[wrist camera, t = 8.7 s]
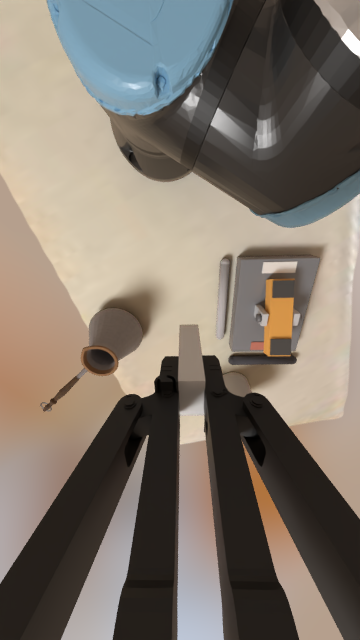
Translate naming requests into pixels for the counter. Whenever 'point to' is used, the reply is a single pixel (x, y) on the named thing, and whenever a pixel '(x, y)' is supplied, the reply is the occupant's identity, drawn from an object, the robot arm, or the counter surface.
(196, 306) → the counter surface
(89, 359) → the coffee pot
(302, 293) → the panel
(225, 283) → the grey rod
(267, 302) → the lever
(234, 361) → the black rounded bar
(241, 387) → the mug
